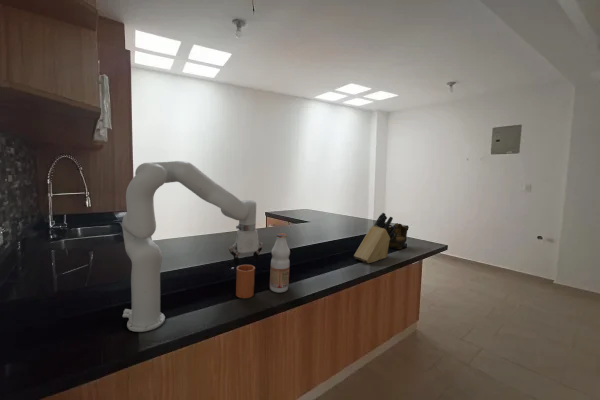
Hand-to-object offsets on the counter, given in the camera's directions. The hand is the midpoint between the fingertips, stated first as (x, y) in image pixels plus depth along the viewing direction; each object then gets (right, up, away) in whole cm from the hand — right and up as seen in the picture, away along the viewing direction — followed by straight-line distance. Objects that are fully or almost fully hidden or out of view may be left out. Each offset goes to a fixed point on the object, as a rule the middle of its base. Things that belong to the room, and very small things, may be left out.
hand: (246, 263), depth 136 cm
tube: (-1, -15, +2) cm, 15 cm away
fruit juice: (+15, -15, +10) cm, 23 cm away
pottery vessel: (+102, -9, +97) cm, 141 cm away
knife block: (+77, -11, +68) cm, 104 cm away
